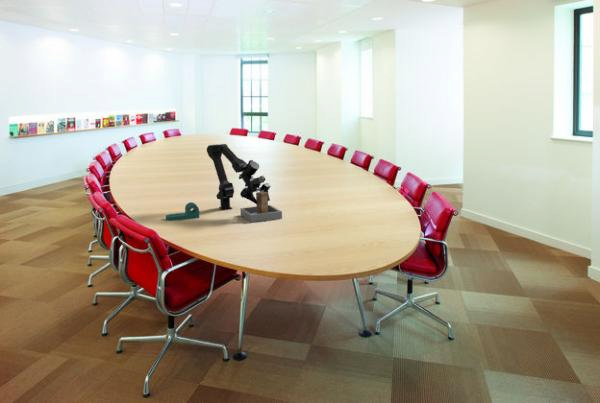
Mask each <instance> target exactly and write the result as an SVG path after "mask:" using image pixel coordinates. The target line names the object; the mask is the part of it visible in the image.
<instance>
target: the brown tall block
mask: <svg viewBox="0 0 600 403" xmlns="http://www.w3.org/2000/svg"><path fill="white" fill-rule="evenodd" d="M268 194H269V191H268V192H260V191H257V192H255V199H256V200H257V202H258V203H257V204H256V206H255V207H257V214H261V213H268V205H269V201H268Z"/></svg>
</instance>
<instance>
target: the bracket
mask: <svg viewBox="0 0 600 403" xmlns="http://www.w3.org/2000/svg"><path fill="white" fill-rule="evenodd" d="M184 211H185V212H179V213H176V212H175V213H170V214H169V213H168V214H166V215H165V220H166V221H169V222H170V221H181V220H191V219H199V218H200V208H199V206H198V205H197V204H196V203H195V202H192V201H191V202H190V201H189V202H188V203H186V205H185V207H184Z"/></svg>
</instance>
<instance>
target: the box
mask: <svg viewBox="0 0 600 403" xmlns="http://www.w3.org/2000/svg"><path fill="white" fill-rule="evenodd" d="M239 210H240V216H241V217H243V218H244V219H246V220H247V221H249V222H250V223H252V224H253V223H259V222H267V221H274V220H280V219H283V211H282V210H280V209H279V208H277V207H275V206H272V205H271V204H268V213H261V214H257V207H256V206H250V207H249V206H247V207H240V208H239Z"/></svg>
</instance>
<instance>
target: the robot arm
mask: <svg viewBox="0 0 600 403" xmlns="http://www.w3.org/2000/svg"><path fill="white" fill-rule="evenodd" d="M206 152H207V156H208V157H209V159H211V160H212V161H213V166H214V169H215V171H216V172H215V173H216V174H217V179H218V183H219V186H218V192H217V194H216V195H215V196H216V199H217V200H220V201H219V202H220V206H219V207H218V208H219V209H220V210H230V209H232V210H233V207H232V206H231V198H232V199H233V198H234V193H235V190H234V189H235V188H234V185H233V183H232V182H230V181H229V180H228V176H227V173H226V171H225V167H224V164H223V160H222V156H224V157H225V158H226V159H227V160H228V161H229V162H230V163H231V168H232V169H233V171H234V172H235V173H236V174H237V173H240V174H239V176H238V180H243V182H244V184H245V185H244V186H245V187H244V188H243V189H242V190H241V192H240V193H239V194H240V198H244V199H246V200H249V201H251V202H252V203H254V205H255V204H257V203H258V202H257V200H256V196H255V195H254V193H257V192H268V202H270V200H271V199H270V195H269V190H270V188H271V187H272V186H271V185H270V183H265V181H266V177H265V176H264V175H260V176H258V177H254V175H256V173H257V171H258V170H259V169H260V164H259V163H258V162H256V161H254V160H253V159H250V160H248V162H246V161H245V160H243V159H242V158H239V157H238V156H237V155H236V154H235V153H234V152H233V151H232V149H230V148H229V146H228V145H227V143H220V144H209V145H208V146H207V147H206Z"/></svg>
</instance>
